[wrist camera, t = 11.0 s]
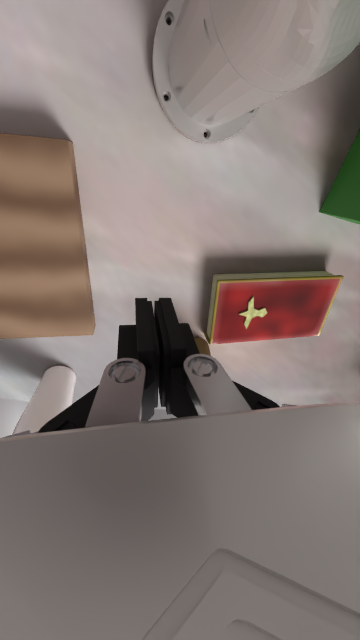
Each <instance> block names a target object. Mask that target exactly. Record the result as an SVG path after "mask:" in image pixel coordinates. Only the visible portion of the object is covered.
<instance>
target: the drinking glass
mask: <svg viewBox="0 0 360 640" xmlns="http://www.w3.org/2000/svg"><path fill="white" fill-rule="evenodd" d="M75 382H76V375H75V373H74V371H73V370H71V369H70V368H68V367H65V366H53V367H51V368H49V369H47V370H46V371H45V373H44V375H43V377H42V379H41V381H40V383H39V385H38V387H37V389H36V391H35V392H34V394H33V396H32V398H31V400H30V402H29V403H28V405H27V407H26V409H25V411H24V412H23V414H22V416H21V418H20V420H19V421H18V423H17V426H16V427H15V430H14V432H13V434H17V433H20V432H24V431H28V430H30V431H31V433H34V432H37V431H39V430H40V428H41V427H42V426H44V425H45V424H46V423H47V422H48V421H50V420H51V419H52V418H54V417H55V416H57V415H58V414H59V413H61V412H62V411H64V410H65V409H66V408H68V407H69V406H70V405H72V400H73V392H74V386H75ZM13 434H12V435H13Z"/></svg>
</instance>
